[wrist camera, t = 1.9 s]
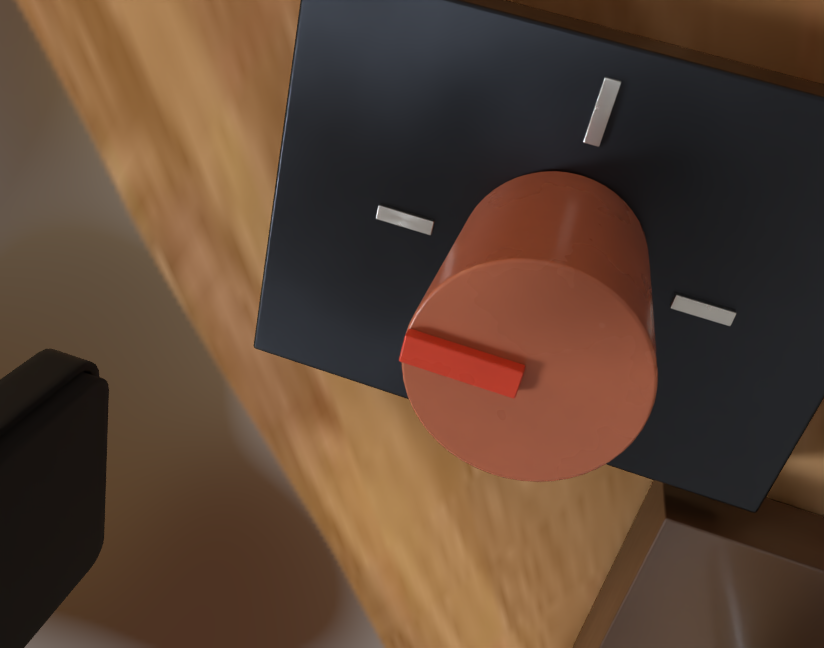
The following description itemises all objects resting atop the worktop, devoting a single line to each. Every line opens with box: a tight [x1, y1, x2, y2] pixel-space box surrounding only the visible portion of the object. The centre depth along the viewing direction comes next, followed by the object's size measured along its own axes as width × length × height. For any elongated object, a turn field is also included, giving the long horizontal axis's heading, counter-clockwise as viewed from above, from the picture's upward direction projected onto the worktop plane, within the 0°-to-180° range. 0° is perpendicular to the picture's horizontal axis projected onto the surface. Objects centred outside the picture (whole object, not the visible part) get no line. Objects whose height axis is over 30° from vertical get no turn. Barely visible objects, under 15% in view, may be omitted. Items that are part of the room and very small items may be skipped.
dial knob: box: [399, 171, 658, 482], centre depth 15 cm, size 4×4×6 cm
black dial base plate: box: [254, 0, 824, 513], centre depth 19 cm, size 14×10×3 cm
